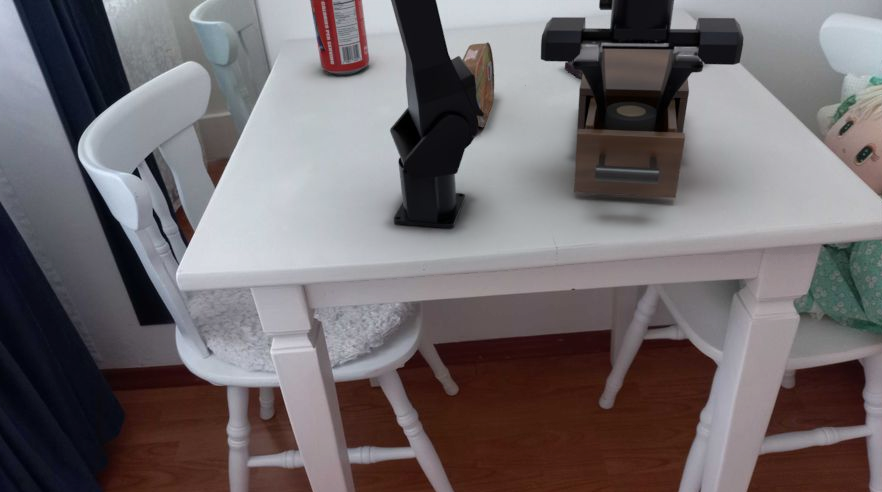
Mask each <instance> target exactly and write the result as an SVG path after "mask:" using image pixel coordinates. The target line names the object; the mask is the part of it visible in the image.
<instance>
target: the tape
mask: <svg viewBox="0 0 882 492" xmlns="http://www.w3.org/2000/svg"><path fill="white" fill-rule="evenodd" d="M656 116H657V111H656V109H655V108H653V107H651V106H649V105H646V104H643V103H637V102H621V103H615V104H612V105H610V106H608V107H607V108H606V114H605V122H604V130H623V131H648V132H654V130H655V123H656Z"/></svg>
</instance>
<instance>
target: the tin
mask: <svg viewBox="0 0 882 492" xmlns="http://www.w3.org/2000/svg"><path fill="white" fill-rule="evenodd" d="M467 47H468V48H467V50H466V52H465V54H464V55H463V58H462V60H463V61H464V63H465V64H466V65H467V67H468V68H469V69H470V71H471V72H472V73H473V74H474V76H475V82H476V97H477V102H478V105H479V107H480V109H481V110H482V112H483V113H484V115H483V116H477V118H478V128H480V127H481V128H484V127H485V126H486V124H487V121H488V117H489V116H490V115H489V114H490V112H491V109H492V106H493V102H494V97H495V66H494V57H493V56H494V55H493V51H492V46H491V44H490V42H483V43H473V44H470V45H469V46H467Z"/></svg>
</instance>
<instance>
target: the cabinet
mask: <svg viewBox="0 0 882 492" xmlns="http://www.w3.org/2000/svg"><path fill="white" fill-rule="evenodd" d="M669 53H670V50H657V49H605V78H606V96H632V97H659V95H660V91H661V87H662V84H663V80H664V76H665V72H666V68H667V63H668V58H669ZM689 88H690V87H689V77H688V78H687V80H686V81H685V82H684V84H683V85H682V86H681V87H680V89H679V90H678V91H677V93H676V94H675V96H674V98H675V110H676V128H677V129H676V133H684V126H685V120H686V114H687V107H688V101H689V94H690V89H689ZM591 95H593V93H592V91H591V88H590V86H589V84H588V82H587V80H586V78H585V76H584V74H583V75H582V79H581V80H580V84H579V91H578V108H577V109H578V111H577V124H576V125H577V129H576V133H577V132H578V129H586V122H587V117H588V111H589V106H590V100H591ZM576 144H577V142H576ZM576 144H575V145H576Z"/></svg>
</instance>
